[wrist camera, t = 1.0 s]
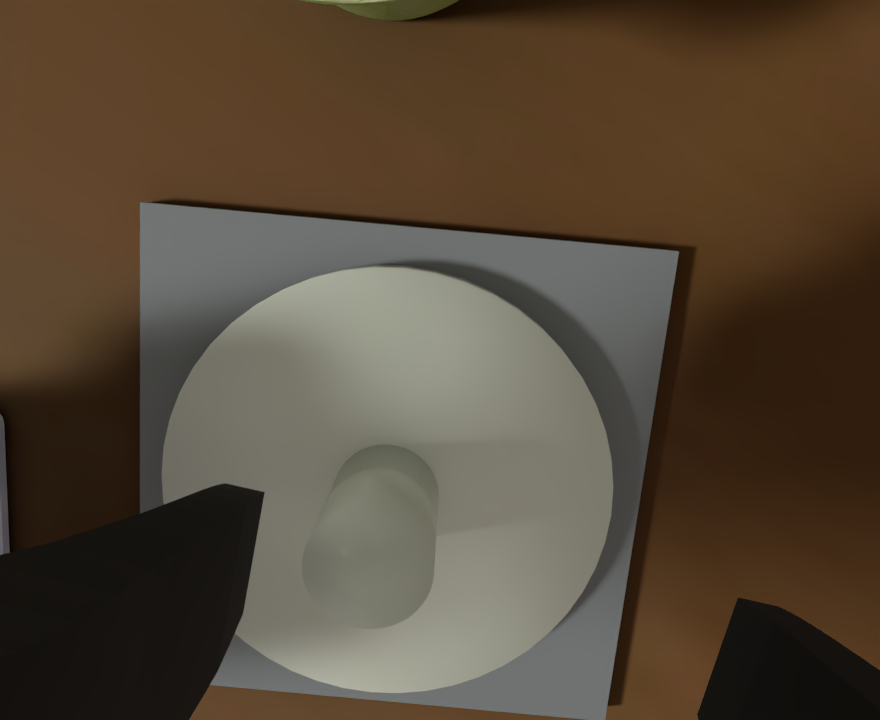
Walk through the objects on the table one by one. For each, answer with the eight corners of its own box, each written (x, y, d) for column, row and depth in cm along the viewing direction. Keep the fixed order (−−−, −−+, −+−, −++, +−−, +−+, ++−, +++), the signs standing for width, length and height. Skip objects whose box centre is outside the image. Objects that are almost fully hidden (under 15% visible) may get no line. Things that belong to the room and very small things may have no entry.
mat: (148, 665, 22) (139, 678, 22) (149, 202, 19) (140, 202, 19) (600, 707, 22) (604, 721, 22) (672, 249, 19) (679, 251, 19)
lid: (173, 651, 21) (90, 783, 16) (178, 245, 19) (80, 258, 14) (575, 688, 21) (611, 832, 16) (634, 286, 19) (697, 315, 14)
